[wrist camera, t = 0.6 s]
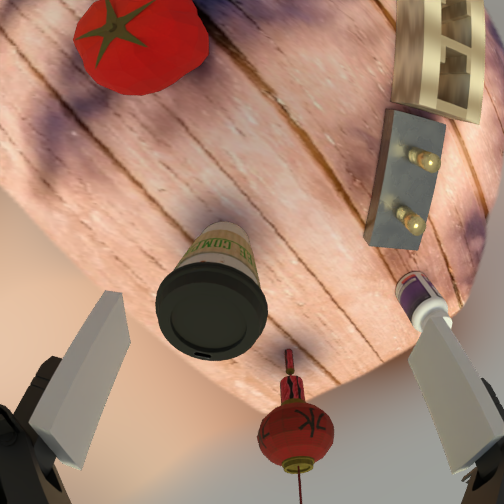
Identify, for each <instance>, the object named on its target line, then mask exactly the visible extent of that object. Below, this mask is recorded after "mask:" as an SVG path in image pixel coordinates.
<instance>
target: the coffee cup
mask: <svg viewBox="0 0 504 504" xmlns="http://www.w3.org/2000/svg"><path fill="white" fill-rule="evenodd" d="M155 305H156V314H157V318H158V323H159V326H160V329H161V331H162V333H163V335H164V336H165V338H166V339H167V340H168V341H169V343H170V344H172V345H173V346H174V347H175V348H176V349H178V350H179V351H181V352H183V353H184V354H187V355H189V356H191V357H194V358H198V359H201V360H209V361H221V360H228V359H231V358H235V357H237V356H239V355H241V354H243V353H245V352H246V351H247V350H249V349H250V348H251V347H252V345H253V344H254V343H255V342H256V340H257V339H258V337H259V336H260V335H261V333H262V331H263V329H264V327H265V325H266V321H267V316H268V306H267V302H266V299H265V295H264V294H263V292H262V290H261V287H260V282H259V278H258V273H257V269H256V264H255V260H254V255H253V252H252V249H251V246H250V241H249V238H248V236H247V234H246V232H245V231H244V230H243V229H242V228H241V227H239V226H238V225H236V224H234V223H230V222H217V223H214V224H212V225H210V226H208V227H207V228H206V229H205V230H204V231H203V233H202V234H201V235H200V236H199V237H198V238H197V239H196V240H195V241H194V243H193V244H192V245H191V247H190V248H189V249H188V251H187V252H186V254H185V255H184V256H183V258H182V259H181V260H180V262H179V263H178V265H177V266H176V267H175V269H174V271H172V272H171V273H170V274H169V275H167V276H166V278H165V279H164V280H163V281H162V283H161V284H160V286H159V289H158V291H157V296H156V302H155Z"/></svg>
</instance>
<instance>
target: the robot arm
mask: <svg viewBox="0 0 504 504" xmlns="http://www.w3.org/2000/svg"><path fill="white" fill-rule="evenodd" d="M130 343H131V342H130V336H129V331H128V326H127V321H126V315H125V309H124V303H123V296H122V293H119V292H113V291H106V290H105V292H104V293H103V295H102V296H101V298H100V299H99V301H98V302H97V304H96V305H95V307H94V308H93V310H92V312H91V313H90V315H89V316H88V318H87V319H86V321H85V323H84V324H83V326H82V327H81V329H80V331H79V332H78V334H77V335H76V337H75V339H74V340H73V342H72V344H71V345H70V347H69V349H68V350H67V352H66V354H65V356H64V357H63V359H62V358H58V357H55V356H51V357H50V358H49V359H48V360H46V361H45V362H44V363H43V364H42V365H41V366H40V368H39V370H38V372H37V373H36V376H35V377H34V378H33V380H32V382H31V385H30V386H29V387H28V389H27V390H26V392H25V394H24V396H23V398H22V399H21V401H20V403H19V405H18V407H17V409H16V410H15V412H14V414H12V413H11V411H10V410H9V409H8V408H7V407H6V406H3V405H1V404H0V504H72V503H71V501H70V499H69V497H68V495H67V493H66V490H65V488H64V486H63V483H62V481H61V479H60V476H59V474H58V471H57V469H56V467H55V465H54V461H55V459H56V457H57V458H58V459H59V460H60V461H61V462H62V464H65V465H68V466H70V467H73V468H76V469H79V470H82V468H83V465H84V462H85V459H86V456H87V453H88V450H89V447H90V444H91V441H92V438H93V436H94V433H95V430H96V427H97V425H98V422H99V419H100V417H101V414H102V411H103V409H104V406H105V404H106V401H107V399H108V396H109V394H110V391H111V389H112V386H113V384H114V381H115V379H116V376H117V374H118V371H119V369H120V367H121V364H122V362H123V359H124V357H125V355H126V352H127V350H128V348H129V345H130ZM408 362H409V364H410V367H411V369H412V371H413V374H414V376H415V378H416V380H417V382H418V385H419V387H420V390H421V392H422V395H423V397H424V399H425V402H426V404H427V407H428V409H429V412H430V414H431V417H432V419H433V422H434V425H435V427H436V430H437V432H438V435H439V438H440V441H441V443H442V446H443V449H444V452H445V455H446V457H447V460H448V463H449V466H450V469H451V472H452V474H455V473H457V472H460V471H463V470H466V469H467V468H468V467H470V466H471V465H472V464H473V463H474V462H475V463H476V466H477V467H475V468H474V469H473V470H472V471H471V472H469V473H468V474H467V475H466V476H464V477H463V479H462V480H461V481H465V480H466V479H467V478H469V477H470V476H471V477H470V479H469V480H468V481H467V482H466V483H468V486H467V489H466V492H465V494H464V497H463V500H462V502H461V504H504V409H503V407H502V405H501V404H500V402H499V400H498V398H497V397H496V394H495V392H494V391H493V389H492V387H491V385H490V384H489V383H488V382H486V380H485V379H484V378H480V377H479V375H478V373H477V371H476V369H475V368H474V366H473V364H472V363H471V361H470V360H469V358H468V356H467V354H466V353H465V351H464V349H463V348H462V346H461V345H460V343H459V341H458V340H457V338H456V337H455V335H454V334H453V332H452V330H451V329H450V327H449V326H448V324H447V323H446V321H445V320H444V318H443V317H439V316H430V317H429V319H428V321H427V323H426V325H425V327H424V329H423V331H422V333H421V335H420V337H419V339H418V341H417V343H416V345H415V347H414V349H413V351H412V353H411V354H410V356H409V358H408Z"/></svg>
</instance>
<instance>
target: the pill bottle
mask: <svg viewBox="0 0 504 504" xmlns="http://www.w3.org/2000/svg"><path fill="white" fill-rule="evenodd" d="M396 297H397V299H398V301H399V303H400V304H401V306H402V308H403V309H404V311H405V313H406V314H407V316H408V318H409V320H410V321H411V323H412V325H413V327H414V328H415V329H416V330H417V331H419V332H422V331H423V329H424V327H425V325H426V323H427V321H428V319H429V317H430V316H439V317H443V318H444V320H445V321H446V323H447V324H448V326H449V327H450V329H451V327H452V320H451V318H450V317H449V315H448V314H447V313H448V306H447V303H446V302H445V300H444V299H443V297H442V296H441V295H440V293H439V292H438V291H437V290H436V288H435V287H434V286H433V284H432V283H431V282H430V281H429V279H428V278H427V277H426V276H425V275H424V274H423V273H421V272H411V273H409V274H407V275H405V276H404V277H403V278H402V279H401V280H400V281H399V283H398V284H397V287H396Z"/></svg>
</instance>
